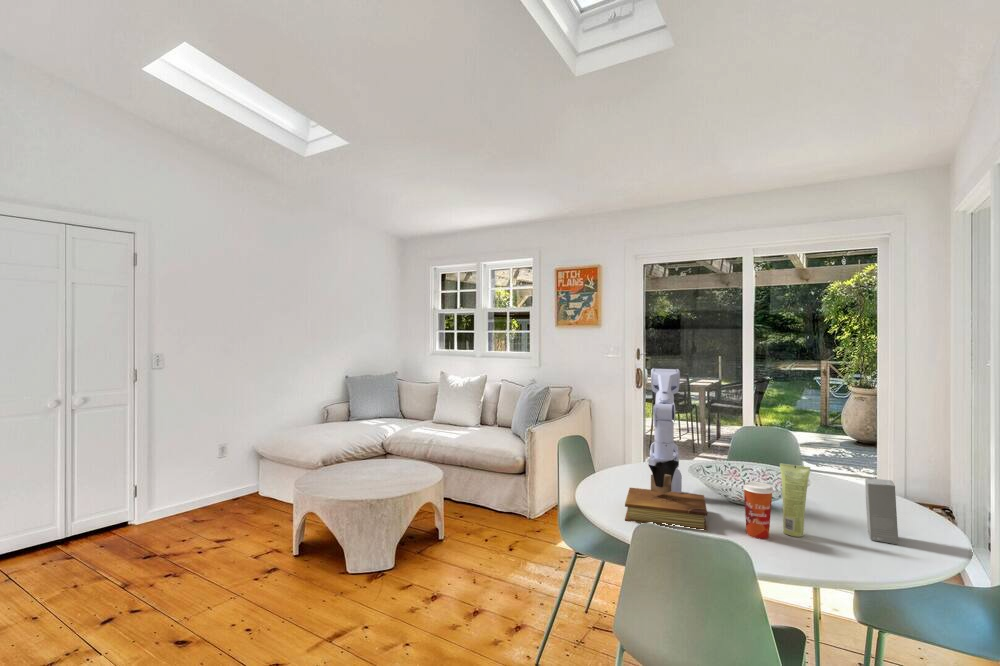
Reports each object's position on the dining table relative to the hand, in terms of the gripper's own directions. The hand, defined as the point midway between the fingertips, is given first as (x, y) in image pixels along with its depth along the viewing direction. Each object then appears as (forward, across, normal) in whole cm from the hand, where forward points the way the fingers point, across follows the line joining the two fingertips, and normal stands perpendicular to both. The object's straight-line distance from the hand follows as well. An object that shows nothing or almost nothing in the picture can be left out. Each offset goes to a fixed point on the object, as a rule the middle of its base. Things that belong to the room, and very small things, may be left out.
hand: (663, 485), depth 162 cm
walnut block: (+2, 0, -1) cm, 2 cm away
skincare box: (+9, -29, +50) cm, 59 cm away
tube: (+9, -13, +34) cm, 37 cm away
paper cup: (+9, -4, +27) cm, 29 cm away
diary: (+9, +2, +2) cm, 10 cm away
